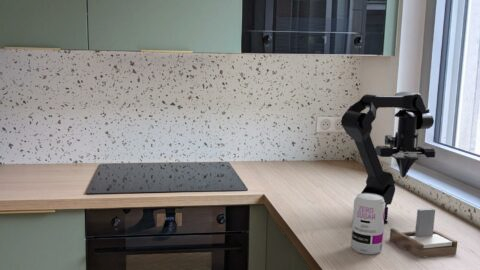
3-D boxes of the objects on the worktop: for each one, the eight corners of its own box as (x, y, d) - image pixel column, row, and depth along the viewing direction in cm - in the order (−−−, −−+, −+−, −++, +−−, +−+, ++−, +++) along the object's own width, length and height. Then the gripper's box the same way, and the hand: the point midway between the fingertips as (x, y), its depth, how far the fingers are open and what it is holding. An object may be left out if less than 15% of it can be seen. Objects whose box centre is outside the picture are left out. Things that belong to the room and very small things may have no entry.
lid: (408, 240, 147) (410, 209, 146) (435, 237, 150) (438, 207, 149) (423, 248, 141) (426, 216, 140) (451, 245, 144) (455, 214, 143)
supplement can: (376, 244, 149) (380, 192, 147) (385, 255, 141) (389, 201, 139) (347, 243, 149) (351, 192, 147) (355, 255, 141) (359, 200, 139)
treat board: (389, 240, 153) (390, 228, 153) (424, 236, 157) (425, 225, 157) (419, 257, 141) (420, 245, 140) (456, 253, 145) (457, 241, 144)
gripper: (422, 127, 183) (418, 171, 185) (370, 126, 181) (367, 171, 183) (438, 132, 172) (433, 179, 174) (382, 131, 170) (379, 179, 172)
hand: (402, 177), depth 176 cm, fingers closed
